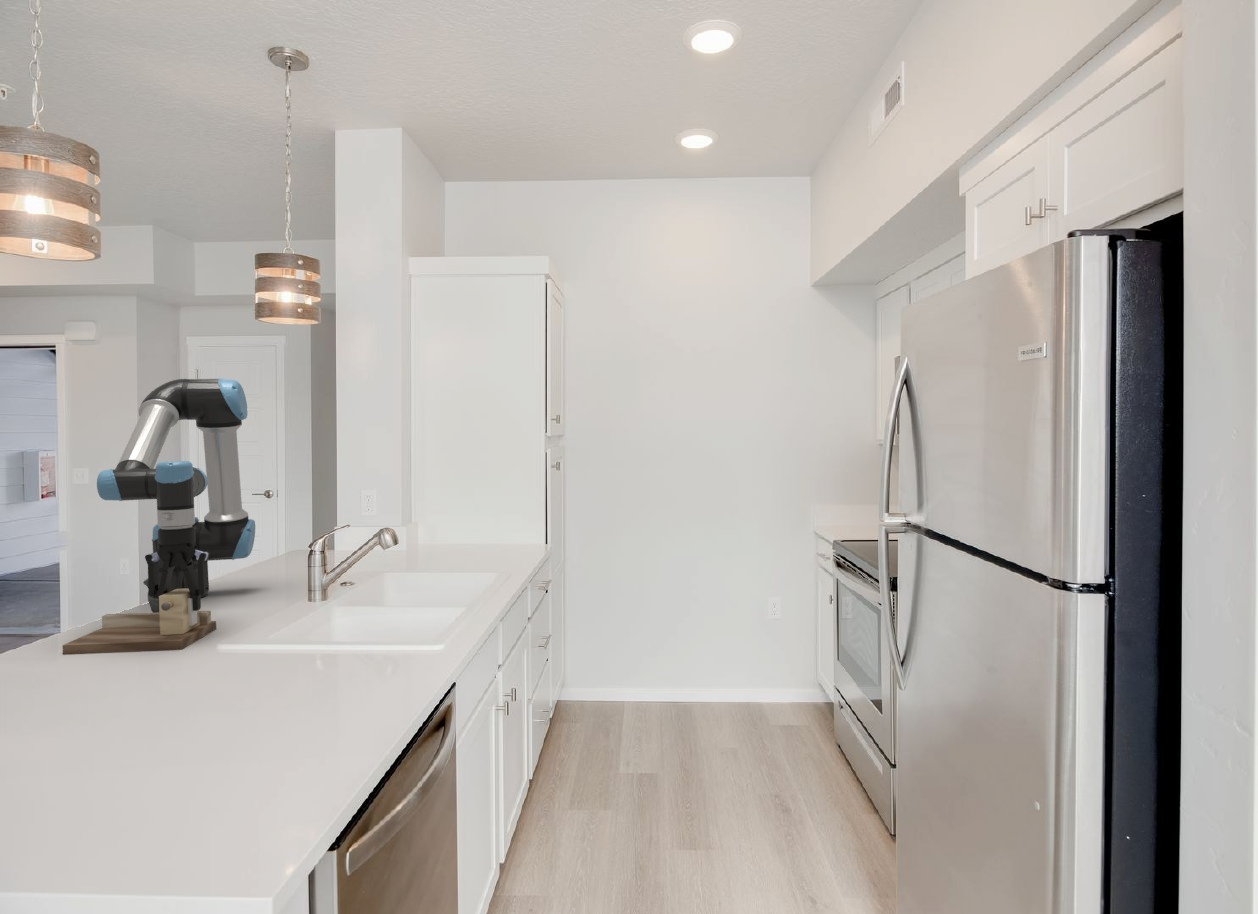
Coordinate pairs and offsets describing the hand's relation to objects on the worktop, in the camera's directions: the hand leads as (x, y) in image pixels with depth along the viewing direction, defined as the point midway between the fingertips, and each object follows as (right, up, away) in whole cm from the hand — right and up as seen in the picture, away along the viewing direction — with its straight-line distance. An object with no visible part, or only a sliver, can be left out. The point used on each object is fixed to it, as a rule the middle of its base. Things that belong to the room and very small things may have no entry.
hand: (180, 624), depth 174 cm
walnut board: (-8, -4, -1) cm, 9 cm away
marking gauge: (0, -1, 0) cm, 1 cm away
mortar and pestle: (-13, -3, +16) cm, 21 cm away
